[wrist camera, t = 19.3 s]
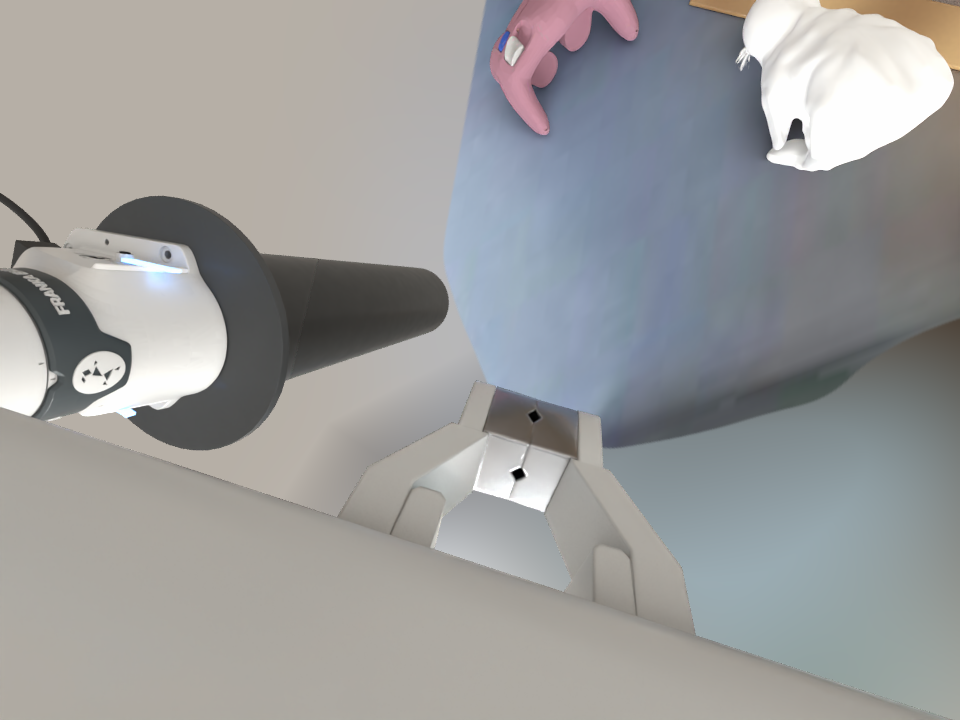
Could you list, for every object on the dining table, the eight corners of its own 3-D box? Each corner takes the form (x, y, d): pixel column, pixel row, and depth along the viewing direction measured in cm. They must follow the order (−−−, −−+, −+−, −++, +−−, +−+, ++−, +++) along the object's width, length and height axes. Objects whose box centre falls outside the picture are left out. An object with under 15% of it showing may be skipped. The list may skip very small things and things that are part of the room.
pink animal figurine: (607, 11, 31) (578, -92, 25) (648, 34, 29) (628, -72, 23) (513, 118, 34) (467, 50, 28) (544, 146, 32) (502, 78, 26)
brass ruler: (688, 4, 28) (689, 1, 28) (709, -46, 27) (710, -49, 27) (1081, 100, 24) (1086, 98, 24) (1117, 45, 24) (1123, 42, 23)
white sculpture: (862, 158, 21) (738, -34, 21) (788, 203, 29) (700, 63, 29) (1013, 71, 19) (872, -137, 19) (888, 146, 27) (791, -2, 27)
